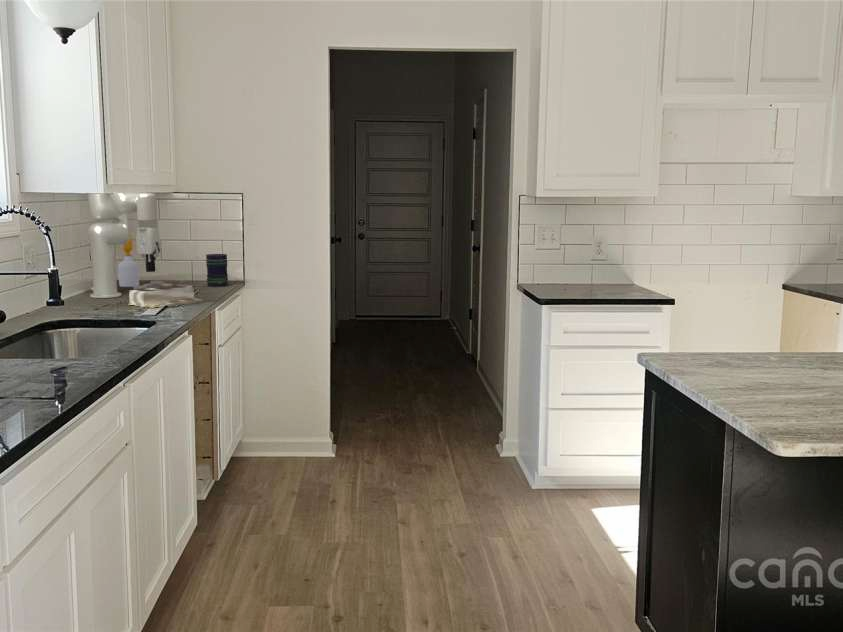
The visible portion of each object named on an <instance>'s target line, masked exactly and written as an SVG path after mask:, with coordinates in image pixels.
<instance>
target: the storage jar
mask: <svg viewBox="0 0 843 632" xmlns="http://www.w3.org/2000/svg"><path fill="white" fill-rule="evenodd" d="M205 257H206V259H205V263H206V269H207V270H206V273H207V275H206V283H207V287H209V288H223V287H224V288H225V287H228V286H229V284H228V283H229V274H228V266H229V265H228V254H226V253H209V254H205Z"/></svg>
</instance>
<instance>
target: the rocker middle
mask: <svg viewBox="0 0 843 632" xmlns="http://www.w3.org/2000/svg"><path fill="white" fill-rule="evenodd" d="M153 283H155V284H156V288H157V287H159V288H162V289H170V288H173V286H174V285H172V284H168V283H169V282H166V281H163V280H159V279H158V280H150V283H149V284H153Z"/></svg>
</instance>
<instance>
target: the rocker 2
mask: <svg viewBox="0 0 843 632" xmlns="http://www.w3.org/2000/svg"><path fill="white" fill-rule="evenodd" d="M167 283H168V284H172V285H173V286H175V285H183V284H184V285H185V284H190V279H183V280H177V281H172V282H167Z"/></svg>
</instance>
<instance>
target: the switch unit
mask: <svg viewBox="0 0 843 632" xmlns="http://www.w3.org/2000/svg"><path fill="white" fill-rule="evenodd" d="M128 292H129V294H128V295H129V302H128V306H129V305H135V306H141V307H140V308H142V307H146V308H145V309H148V308H147V307H152V306H154V305H158V304H157V303H158V302H163V301H169V302H168V303H167V304H166V305H167V306H168V307H173V306H183V304H184V305H189V304H197V303H198V302H199V303H203V302H204V299H202V298H201V299H200V298H195V291H194V286H191V285H183V284H178V285H173V288H170V289H162V288H159V287H157V286H156V287H150V288H143V289H133V290H128ZM135 306H134V307H135Z"/></svg>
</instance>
